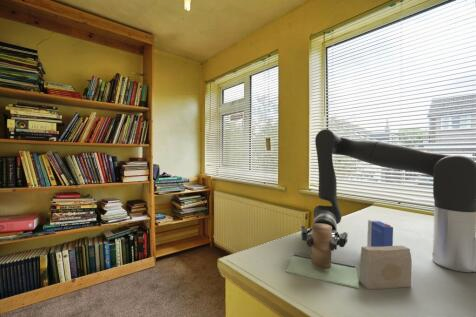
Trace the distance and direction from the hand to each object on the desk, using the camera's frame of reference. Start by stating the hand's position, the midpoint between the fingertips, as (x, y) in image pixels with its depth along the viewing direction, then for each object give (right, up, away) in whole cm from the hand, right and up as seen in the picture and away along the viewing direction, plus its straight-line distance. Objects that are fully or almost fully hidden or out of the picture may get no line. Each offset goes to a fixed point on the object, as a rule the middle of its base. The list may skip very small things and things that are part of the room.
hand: (321, 245), depth 61 cm
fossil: (+15, -9, -4) cm, 18 cm away
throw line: (+4, -8, +9) cm, 13 cm away
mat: (+1, -8, +2) cm, 9 cm away
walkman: (+22, -8, +10) cm, 25 cm away
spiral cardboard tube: (+1, -6, +3) cm, 7 cm away
